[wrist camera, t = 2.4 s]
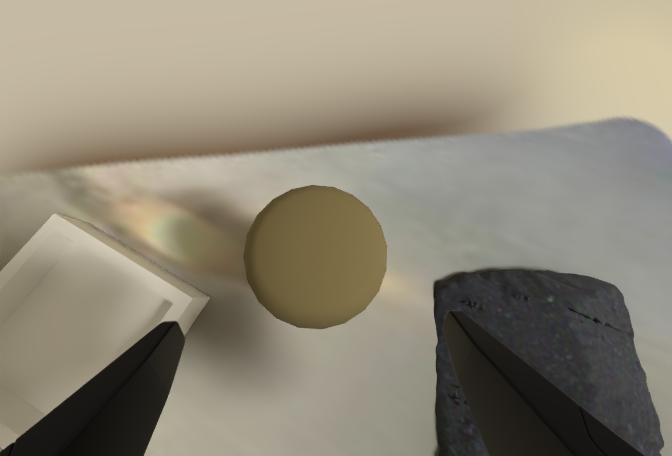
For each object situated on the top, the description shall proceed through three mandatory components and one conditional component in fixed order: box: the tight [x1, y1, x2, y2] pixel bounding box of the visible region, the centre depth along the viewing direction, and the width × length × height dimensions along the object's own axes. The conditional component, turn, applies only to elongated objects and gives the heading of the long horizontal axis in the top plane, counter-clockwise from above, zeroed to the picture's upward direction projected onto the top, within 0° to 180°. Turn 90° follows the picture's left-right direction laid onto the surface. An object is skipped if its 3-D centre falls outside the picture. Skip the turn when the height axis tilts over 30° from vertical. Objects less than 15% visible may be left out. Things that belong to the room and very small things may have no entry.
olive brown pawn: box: [244, 185, 387, 329], centre depth 13 cm, size 6×6×11 cm
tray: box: [0, 213, 211, 449], centre depth 16 cm, size 11×11×2 cm
